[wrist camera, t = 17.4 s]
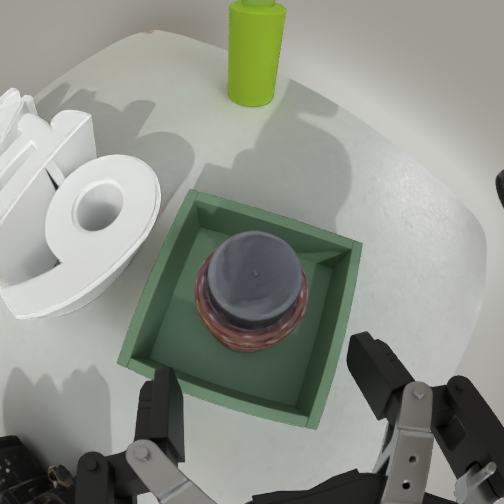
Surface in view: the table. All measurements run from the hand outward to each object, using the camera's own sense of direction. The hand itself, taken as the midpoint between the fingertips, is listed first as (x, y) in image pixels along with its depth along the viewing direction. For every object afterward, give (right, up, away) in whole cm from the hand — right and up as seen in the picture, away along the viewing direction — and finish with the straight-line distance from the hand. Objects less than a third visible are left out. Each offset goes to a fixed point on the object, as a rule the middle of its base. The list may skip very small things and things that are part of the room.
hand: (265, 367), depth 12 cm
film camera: (-21, -18, +3) cm, 28 cm away
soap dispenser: (-1, +25, +21) cm, 33 cm away
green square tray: (-1, 0, +11) cm, 11 cm away
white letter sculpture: (-24, +10, +14) cm, 30 cm away
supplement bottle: (-1, 0, +11) cm, 11 cm away
